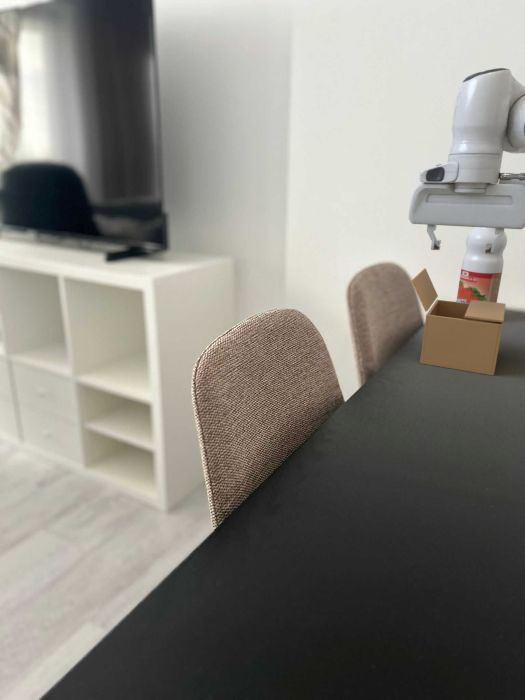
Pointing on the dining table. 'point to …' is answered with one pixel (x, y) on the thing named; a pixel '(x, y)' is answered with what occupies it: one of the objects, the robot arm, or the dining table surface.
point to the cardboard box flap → (425, 289)
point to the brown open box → (463, 335)
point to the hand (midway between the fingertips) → (461, 251)
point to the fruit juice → (481, 267)
